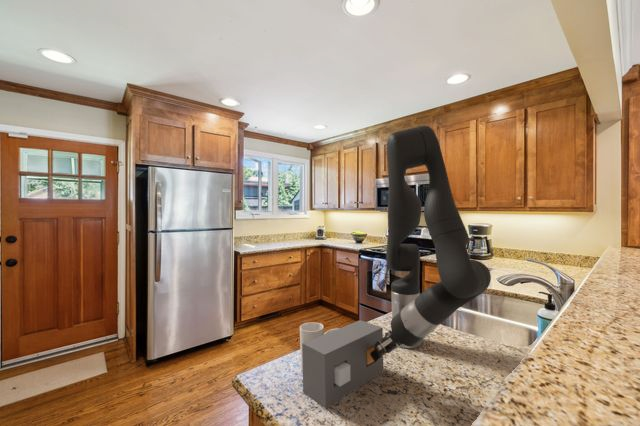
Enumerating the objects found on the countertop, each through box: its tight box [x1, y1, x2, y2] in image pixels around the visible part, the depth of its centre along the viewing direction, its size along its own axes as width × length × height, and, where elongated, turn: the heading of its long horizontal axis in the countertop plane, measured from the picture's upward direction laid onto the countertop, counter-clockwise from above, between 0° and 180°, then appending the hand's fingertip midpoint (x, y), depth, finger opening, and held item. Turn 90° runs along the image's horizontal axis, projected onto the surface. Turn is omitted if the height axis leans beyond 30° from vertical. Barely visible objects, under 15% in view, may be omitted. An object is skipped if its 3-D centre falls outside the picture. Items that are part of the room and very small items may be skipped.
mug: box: [299, 321, 325, 373], centre depth 81 cm, size 10×7×12 cm, turn 24°
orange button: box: [366, 346, 375, 365], centre depth 76 cm, size 4×4×4 cm
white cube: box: [333, 362, 350, 386], centre depth 67 cm, size 4×4×4 cm
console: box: [302, 319, 384, 409], centre depth 73 cm, size 22×8×12 cm, turn 132°
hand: (373, 356), depth 74 cm, fingers closed
